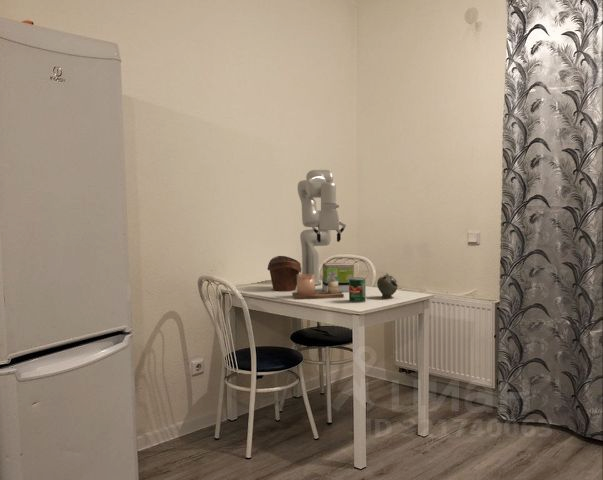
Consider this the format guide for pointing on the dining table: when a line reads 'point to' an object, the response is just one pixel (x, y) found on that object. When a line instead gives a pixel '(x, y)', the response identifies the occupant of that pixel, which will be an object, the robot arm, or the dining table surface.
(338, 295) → the board
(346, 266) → the coffee box
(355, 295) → the canned tomato
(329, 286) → the stopper
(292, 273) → the case
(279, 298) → the dining table surface
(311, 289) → the jar
